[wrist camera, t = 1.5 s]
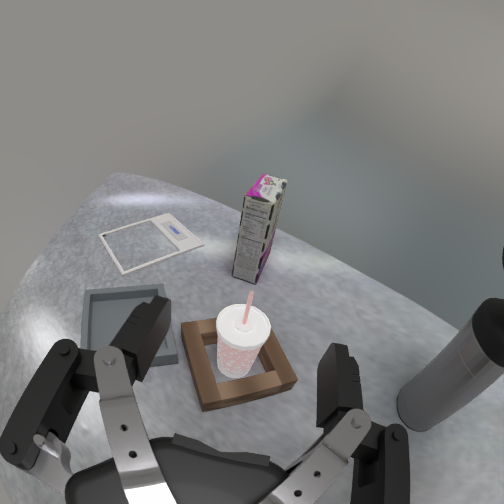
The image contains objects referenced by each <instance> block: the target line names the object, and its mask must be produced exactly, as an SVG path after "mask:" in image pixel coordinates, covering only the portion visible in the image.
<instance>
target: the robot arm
mask: <svg viewBox="0 0 504 504" xmlns="http://www.w3.org/2000/svg"><path fill="white" fill-rule="evenodd" d="M502 260H503V268H504V248H503V256H502ZM170 323H171V300H170V299H167V298H164V297H161V296H158V295H155V296H154V298H153V299H152V301H151V302H150V304H149V303H146V302H142V303H141V304H139V305H138V306H136V307H135V308H134V310H133V311H132V312H131V314H130V316H129V317H128V318H127V320H126V322H125V323H124V324H123V325H122V327H121V328H120V330H119V331H118V333H117V334H116V336H115V337H114V339H113V340H112V342H111V343H110V344H109V345H108V346H104V347H102V348H100V349H98V350H96V351H94V350H87V349H80V348H78V346H77V345H76V343H75V342H74V341H72V340H70V339H61V340H59V341H57V342H56V343H55V344H54V345H53V346H52V348H51V349H50V351H49V352H48V354H47V355H46V357H45V358H44V360H43V361H42V363H41V365H40V366H39V368H38V369H37V371H36V373H35V374H34V376H33V377H32V379H31V381H30V382H29V384H28V386H27V388H26V389H25V391H24V393H23V395H22V396H21V398H20V400H19V402H18V404H17V405H16V407H15V409H14V411H13V413H12V415H11V417H10V419H9V421H8V423H7V425H6V427H5V429H4V431H3V433H2V435H1V437H0V453H1V455H2V456H3V458H4V459H5V460H6V461H7V462H9V463H10V464H12V465H14V466H16V467H17V468H18V469H20V470H22V471H24V472H26V473H28V474H30V475H33V476H34V477H36V478H37V479H39V480H40V481H41V482H43V483H45V484H46V485H48V486H49V487H51V488H52V489H54V490H56V491H57V492H59V493H60V494H62V495H64V496H65V500H66V504H313V503H314V502H315V501H316V500H317V499H318V498H319V497H320V496H321V495H322V494H323V493H324V492H325V491H326V489H327V488H328V487H329V486H330V485H331V484H332V483H333V482H334V480H335V479H336V478H337V477H338V476H339V475H340V473H341V472H342V471H343V470H344V469H345V467H346V466H347V464H348V461H347V460H348V458H349V457H353V458H354V469H353V482H352V493H351V503H350V504H410V462H409V444H408V434H407V431H406V429H405V428H404V427H403V426H402V425H400V424H391V425H389V426H388V427H384V426H382V425H379V424H376V423H374V422H372V421H371V419H370V417H369V415H368V414H367V413H366V412H365V411H364V410H363V401H362V391H361V383H360V376H359V375H360V374H359V366H358V364H357V362H356V360H355V358H354V357H350V356H349V352H348V346H347V345H343V344H337V343H331V345H330V346H329V348H328V349H327V351H326V352H325V354H324V355H323V357H322V359H321V360H320V362H319V365H318V369H317V421H316V427H320V428H324V433H323V434H322V435H321V436H320V437H319V438H318V439H317V440H316V441H315V442H314V443H313V444H312V445H311V446H310V447H309V448H308V449H307V450H306V451H305V452H304V453H303V454H302V455H301V456H300V457H299V458H298V459H297V460H296V461H294V462H293V463H292V464H291V465H289V466H288V467H287V468H286V469H285V470H283V469H282V468H281V467H280V466H278V465H276V464H275V463H273V462H271V461H270V456H266V455H259V454H254V453H248V452H219V451H217V450H215V449H213V448H211V447H209V446H208V445H206V444H204V443H202V442H200V441H198V440H195V439H192V438H188V437H185V436H182V435H179V434H176V433H175V434H174V437H160V438H154V439H151V440H149V438H148V435H147V432H146V430H145V427H144V424H143V421H142V418H141V415H140V412H139V409H138V406H137V402H136V399H135V395H134V392H133V388H132V386H133V384H134V382H135V380H138V381H140V382H142V381H143V379H144V377H145V375H146V373H147V371H148V369H149V367H150V365H151V363H152V361H153V359H154V357H155V356H156V354H157V352H158V350H159V348H160V346H161V344H162V342H163V340H164V338H165V336H166V334H167V332H168V330H169V327H170ZM502 374H504V299H498V298H489V299H487V300H485V301H484V302H483V303H482V304H481V305H480V307H479V308H478V309H477V310H476V312H475V313H474V315H473V316H472V317H471V318H470V320H469V321H468V322H467V323H466V324H465V326H464V327H463V328H462V329H461V330H460V331H459V333H458V334H457V335H456V336H455V337H454V338H453V339H452V341H451V342H450V343H449V344H448V345H447V346H446V347H445V348H444V349H443V350H442V351H441V352H440V353H439V354H438V355H437V356H436V357H435V358H434V359H433V360H432V361H431V362H430V363H429V364H428V365H427V366H426V367H425V368H424V369H423V370H422V371H421V372H420V373H419V374H417V375H416V376H415V377H414V378H413V379H412V380H411V381H410V382H409V383H407V384H406V385H405V386H404V387H403V388H402V389H401V391H400V393H399V395H398V400H397V406H398V411H399V415H400V417H401V419H402V420H403V422H404V423H405V424H406V425H407V426H408V427H409V428H411V429H413V430H416V431H426V430H428V429H430V428H432V427H433V426H435V425H437V424H438V423H440V422H441V421H443V420H445V419H446V418H448V417H449V416H451V415H452V414H454V413H455V412H457V411H458V410H459V409H461V408H462V407H464V406H465V405H466V404H468V403H469V402H470V401H472V400H473V399H474V398H475V397H477V396H478V395H479V394H481V393H482V392H483V391H484V390H485V389H487V388H488V387H489V386H490V385H491V384H493V383H494V382H495V381H496V380H497V379H498V378H499V377H500V376H501V375H502ZM89 391H92V392H99V394H100V401H99V404H100V409H101V414H102V418H103V422H104V426H105V430H106V434H107V438H108V441H109V445H110V448H111V451H112V454H113V457H112V458H110V459H108V460H106V461H103V462H101V463H99V464H96V465H94V466H92V467H89V468H87V469H84V470H82V471H79V472H77V473H75V474H73V473H72V471H71V468H70V459H71V453H70V450H69V448H68V447H67V445H66V444H65V443H66V440H67V438H68V436H69V433H70V431H71V429H72V427H73V424H74V422H75V420H76V418H77V416H78V414H79V411H80V409H81V407H82V405H83V403H84V401H85V399H86V397H87V395H88V393H89Z"/></svg>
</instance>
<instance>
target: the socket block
mask: <svg viewBox="0 0 504 504" xmlns="http://www.w3.org/2000/svg"><path fill="white" fill-rule="evenodd" d="M262 312H263V311H262ZM216 320H217V318H214V319H207V320H200V321H192V322H184V323H181V336H182V340H183V344H184V348H185V352H186V356H187V360H188V363H189V367H190V371H191V375H192V378H193V382H194V385H195V389H196V392H197V395H198V399H199V402H200V405H201V408H202V412H205V411H210V410H215V409H220V408H224V407H229V406H233V405H237V404H241V403H245V402H249V401H253V400H257V399H260V398H264V397H268V396H271V395H274V394H278V393H281V392H284V391H287V390H290V389H292V387H293V386H294V384H295V383H296V382H297V380H298V379H297V377H296V375H295V373H294V371H293V369H292V367H291V365H290V363H289V362H288V360H287V358H286V356H285V354H284V352H283V350H282V348H281V346H280V344H279V342H278V340H277V338H276V336H275V334H274V332H273V330H272V328H271V330H270V335H269V337H268V339H267V340H266V342H265V343H264V344H263V345H262V347H261V349H260V351H259V353H258V355H259V358H260V360H261V362H262V364H263V366H264V369H265V371H266V373H262V374H258V375H254V376H250V377H246V378H242V379H237V380H233V381H228V382H223V383H218V384H216V381H215V378H214V375H213V372H212V369H211V366H210V363H209V360H208V357H207V353H206V350H205V347H204V345H209V344H215V343H218V334H217V329H216Z"/></svg>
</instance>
